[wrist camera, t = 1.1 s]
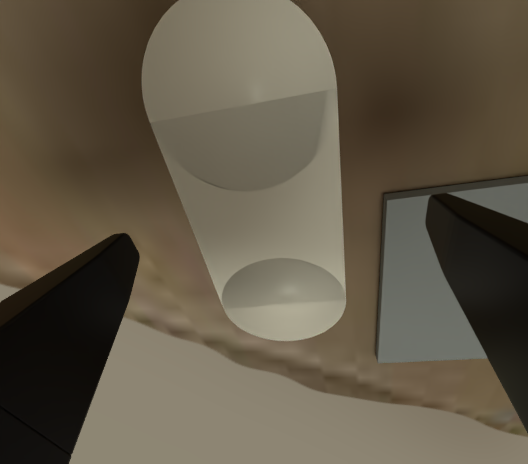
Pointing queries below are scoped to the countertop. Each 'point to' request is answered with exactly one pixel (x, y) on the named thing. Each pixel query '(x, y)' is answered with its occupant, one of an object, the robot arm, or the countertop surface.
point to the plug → (254, 157)
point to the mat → (429, 275)
